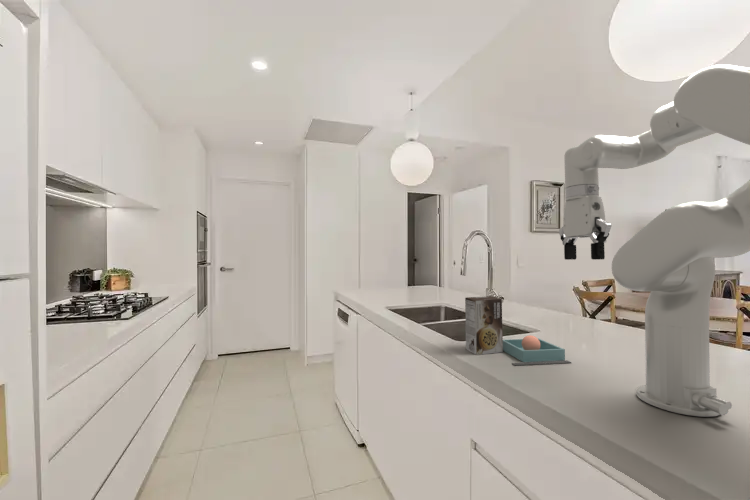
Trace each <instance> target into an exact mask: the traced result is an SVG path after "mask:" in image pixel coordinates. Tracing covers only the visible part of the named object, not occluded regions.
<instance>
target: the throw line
mask: <svg viewBox="0 0 750 500" xmlns="http://www.w3.org/2000/svg"><path fill="white" fill-rule="evenodd" d="M565 364H568V365H569V364H572V362H571V361H569V360H560V361H539V362H512V363H511V365H512V366H514V367H525V366H545V365H565Z"/></svg>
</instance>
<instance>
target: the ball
mask: <svg viewBox="0 0 750 500" xmlns="http://www.w3.org/2000/svg"><path fill="white" fill-rule="evenodd" d="M522 339H523V340H522V347H523V349H524V350H539V349H540V346H541V345H540V341H539V340H538V337H536V336H534V335H531V334H530V335H526V336H523V338H522Z"/></svg>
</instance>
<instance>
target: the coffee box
mask: <svg viewBox="0 0 750 500" xmlns="http://www.w3.org/2000/svg"><path fill="white" fill-rule="evenodd" d="M464 299H465V307H464V308H465V350H467V351H468V352H470V353H471V354H473V355H475V356H479V355H489V354H498V353H504V352H503V340H504V339H503V333H504V332H503V299H502V298H500V297H499V298H498V297H496V296H492V295H487V296H486V295H485V296H472V297H471V296H470V297H468V296H467V297H465V298H464Z"/></svg>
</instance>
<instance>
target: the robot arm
mask: <svg viewBox="0 0 750 500" xmlns="http://www.w3.org/2000/svg"><path fill="white" fill-rule="evenodd" d="M714 134H720V135H722V136H725V137H727V138H729V139H732V140H735V141H738V142H740V143H743V144H745V145H749V146H750V67H746V66H740V65H739V66H738V65H733V64H724V63H723V64H715V65H711V66H708V67H705V68H702V69H700V70H698V71H696V72H694V73H693V74H691V75H690V76H689V77H688V78H687V79H685V80H684V81H683V82H682V83H681V84H680V86H679V87H678V89H677V90H676V92H675V94H674V97H673V101H671V102H669V103H668V104H665V105H662V106H661V107H659V108H658V109H657V110H655V111H654V112H653V114H652V116H651V119H650V121H649V130H647V131H645V132H643V133H641V134H638V135H634V136H630V137H629V136H619V135H606V134H605V135H604V134H597V135H592V136H591V137H589V138H587V139H586V140H584V141H583V142H582V143H580V144H579V145H576V146H572V147H570V148H568V149H567V150H566V151H565V153H564V187H565V188H564V190H565V191H564V192H565V193H564V194H565V203H564V210H563V226H562V227H561V228H560V229H559V230H558V234H559V237H560V240H561V242H562V246H563V252H564V253H563V255H564V260H568V261H569V260H572V261H573V260H574V261H575V260H576V259H577V244H575V243H576V241H577V240H578V238H580V239H582V238H590V240H591V243H590V259H591V260H593V261H594V260H596V261H597V260H605V253H606V252H605V244H606V243H607V239H608V238H609V236H610V231H611V229H612V224H611V223H610V222H608V221H606V214H605V213H606V211H605V207H604V202H603V198H602V197H601V196H600V192H599V191H600V187H599V181H600V180H599V169H615V170H616V169H617V170H627V169H634V168H638V167H641V166H644V165H647V164H649V163H654V162H656V161H659V160H661V159H663V158H665V157H667V156H668V155H669V154H671V153H673V151H675V150H676V148H677V147H679V146H682V145H685V144H688V143H691V142H694V141H697V140H700V139H702V138H705V137H709V136H711V135H714ZM749 252H750V179H748V180H747V181H746V182H744V184H742V185H741V186H740V187H739V188H737V189H736V190H734V191H733V192H731V193H730V194H729V195H727V196H725V197H723V198H722V199H718V200H715V201H700V200H699V201H697V200H696V201H688V202H687V201H686V202H683V203H679V204H676V205H674V206H671V207H669V208H668V209H666V210H664V211H663V212H661V213H659V214H658V215H657V216H656V217H654V218H653V219H652V220H650V221H649V222H648V223H647V224H646V225H644V227H643V228H641V229H640V230H639V231H638V232H636V233H635V234H634V235H633V236H632V237H631V238H629V240H627V241H626V242H625V243H624V244H623V245H622V246H621V247H619V249H618V250H617V252H616V253H615V255H614V257H613V259H612V262H611V273H612V276H613V277H614V280H615V282H617V283H618V284H619V285H620V286H622V287H623V288H625V289H628V290H629V291H634V292H649V295H648V298H647V299H646V303H645V309H644V336H645V337H644V342H645V344H644V345H645V346H644V347H645V355H644V356H645V357H644V358H645V361H644V362H645V384H642V385H639V386H638V387H636V389H635V391H636V396H637V397H638V398H639V399H640V400H641V401H643V402H645V403H647V404H648V405H651V406H653V407H656V408H659V409H661V410H664V411H668V412H672V413H675V414H681V415H686V416H693V417H702V418H704V417H705V418H710V417H711V418H712V417H717V416H720V415H721V416H726V415H727V414H728V413H729V410H730V409H732V408H733V407H732V406H733V405H732V402H731V401H728V400H726V399H723V398H720V397H718V396H717V387H713V386H711V374H710V373H711V370H710V369H711V367H710V366H711V365H710V364H711V363H710V362H711V361H710V355H711V354H710V305H711V297H712V291H713V287H714V281H715V276H716V265H715V260H714V259H715V258H732V257H733V258H734V257H737V256H738V257H739V256H742V255H744V254H746V253H749Z"/></svg>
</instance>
